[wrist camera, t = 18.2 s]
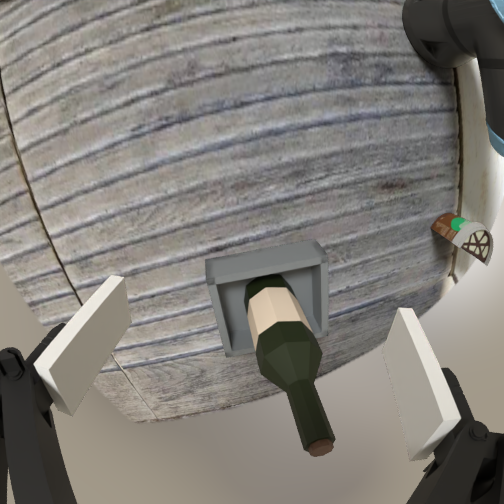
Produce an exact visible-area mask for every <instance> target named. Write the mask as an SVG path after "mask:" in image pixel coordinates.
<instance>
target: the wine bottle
mask: <svg viewBox="0 0 504 504" xmlns="http://www.w3.org/2000/svg"><path fill="white" fill-rule="evenodd" d="M244 304H245V309H246V313H247V317H248V322H249V326H250V331H251V335H252V339H253V344H254V348H255V352H256V356H257V361H258V365H259V369H260V373H261V375H263V376H264V377H266V378H267V379H268V380H270V381H271V382H272V383H274V384H275V385H277V386H278V387H279V388H281V389H282V390H284V391H285V392H286V393H287V396H288V399H289V402H290V406H291V409H292V412H293V416H294V419H295V422H296V426H297V429H298V432H299V435H300V438H301V442H302V445H303V448H304V450H305V451H308V452H309V453H310V455H311V456H314V457H317V456H323V455H325V454H327V453H329V452H331V451H332V449H333V448H334V446H333V443H334V441H335V436H334V434H333V431H332V429H331V426H330V424H329V421H328V419H327V416H326V413H325V411H324V408H323V406H322V403H321V400H320V398H319V396H318V393H317V390H316V388H315V385H314V381H315V378H316V374H317V371H318V368H319V364H320V361H321V357H322V354H323V353H322V351H321V349H320V347H319V344H318V342H317V340H316V338H315V336H314V334H313V332H312V330H311V327H310V325H309V323H308V321H307V319H306V317H305V315H304V313H303V310H302V308H301V306H300V304H299V302H298V300H297V298H296V296H295V294H294V292H293V289H292V287H291V286H290V285H289V283H288V282H287V281H286V280H285V279H284V278H283V277H282V276H281V275H280V274H268V275H263V276H258V277H256V278H255V279H254V280H252V281H251V282H250V283H248V284H247V285H246V288H245V296H244Z"/></svg>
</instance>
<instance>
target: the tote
mask: <svg viewBox="0 0 504 504" xmlns="http://www.w3.org/2000/svg"><path fill="white" fill-rule="evenodd" d="M205 266H206V281H207V285H208V289H209V293H210V297H211V301H212V305H213V309H214V313H215V317H216V321H217V325H218V329H219V332H220V336H221V340H222V344H223V347H224V351H225V355H226V358H227V357H232V356H238V355H243V354H248V353H254V352H255V348H254V344H253V339H252V335H251V331H250V326H249V322H248V317H247V313H246V309H245V304H244V296H245V288H246V285H247V284H248V283H250V282H251V281H252V280H254V279H255V278H256V277H258V276H263V275H268V274H280V275H281V276H282V277H283V278H284V279H285V280H286V281H287V282H288V283H289V285H290V286H291V287H292V289H293V292H294V294H295V296H296V298H297V300H298V302H299V304H300V306H301V308H302V310H303V313H304V315H305V317H306V319H307V321H308V323H309V325H310V327H311V330H312V332H313V334H314V336H315V338H320V337H324V336H328V299H329V293H328V255H327V253H326V252H325V251H324V250H323V248H322V247H321V246H320V244H319V243H318V242H317V241H316V239H312V240H307V241H302V242H296V243H291V244H286V245H280V246H275V247H270V248H264V249H259V250H254V251H248V252H243V253H238V254H232V255H227V256H222V257H216V258H211V259H206V260H205Z"/></svg>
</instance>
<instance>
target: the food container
mask: <svg viewBox="0 0 504 504" xmlns="http://www.w3.org/2000/svg"><path fill="white" fill-rule="evenodd" d="M431 228H432V229H433V230H435V231H436V232H437V233H439V234H440V235H442V236H443V237H445V238H446V239H448V240H449V241H451V242H452V243H453V244H455V245H456V246H458V247H459V248H462V249H464V250H465V251H467V252H469V253H470V254H472V255H473V256H474V257H476V258H477V259H479V260H480V261H481V262H483V263H484V264H485V265H488V263H489V261H490V259H491V255H492V251H493V239H492V235H491V234H490V232H489V230H488V229H487V228H486V227H485V226H484V225H483V224H482V223H480V222H470V221H468V220H466V219H463V218H461V217H459V216H457V215H455V214H452V213H445V214H443V215H441V216H440V217H438V218H437V219H436V220H435V222H434V223H433V224H432V226H431Z"/></svg>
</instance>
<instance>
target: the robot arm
mask: <svg viewBox="0 0 504 504" xmlns="http://www.w3.org/2000/svg"><path fill="white" fill-rule="evenodd" d="M402 17H403V24H404V28H405V31H406V34H407V36H408V38H409V40H410V42H411V44H412V45H413V47H414V48H415V49H416V51H417V52H418V53H419V54H420V55H421V56H422V57H423V58H424V59H425V60H426V61H428V62H429V63H431V64H432V65H434V66H437V67H441V68H455V67H459V66H461V65H463V64H465V63H467V62H468V61H470V60H472V59H474V58H477V60H478V65H479V70H480V76H481V82H482V88H483V95H484V103H485V112H486V124H487V127H488V133H489V140H490V143H491V145H492V147H493V148H494V149H495V150H496V151H497V152H498V153H499V154H500V155H501V156H503V157H504V0H406V1H405V3H404V6H403V13H402ZM131 323H132V321H131V315H130V310H129V304H128V298H127V292H126V285H125V278H124V277H119V276H113V275H111V276H110V277H109V278H108V279H107V280H106V281H105V282H104V283H103V284H102V286H101V287H100V288H99V289H98V290H97V291H96V292H95V293H94V294H93V295H92V296H91V297H90V299H89V300H88V301H87V302H86V303H85V304H84V305H83V306H82V307H81V308H80V310H79V311H78V312H77V313H76V314H75V315H74V316H73V318H72V319H71V320H70V321H69V322H68V323H67V324H65V323H61V324H59V325H58V326H56V327H54V328H53V329H52V330H51V331H50V332H49V333H48V334H47V336H46V337H45V338H44V339H43V340H42V342H41V343H40V344H39V345H38V346H37V347H36V348H35V350H34V351H33V352H32V353H31V354H30V356H29V357H28V358H27V359H26V360H25V361H24V359H23V356H22V354H21V352H20V351H19V350H18V349H16V348H13V347H11V348H6V349H3V350H1V351H0V504H7V476H8V475H7V474H8V468H9V474H10V480H11V485H12V490H13V495H14V499H15V504H77V502H76V499H75V496H74V493H73V490H72V487H71V484H70V481H69V478H68V475H67V471H66V468H65V465H64V461H63V457H62V454H61V450H60V446H59V443H58V438H57V434H56V430H55V425H54V420H53V415H52V411H51V409H50V406H51V404H52V403H53V402H54V404H55V406H56V407H57V409H58V411H61V412H63V413H66V414H68V415H70V416H73V415H74V413H75V411H76V410H77V408H78V406H79V405H80V403H81V401H82V400H83V398H84V396H85V395H86V393H87V391H88V390H89V388H90V387H91V385H92V383H93V382H94V380H95V378H96V377H97V375H98V374H99V372H100V370H101V369H102V367H103V366H104V364H105V363H106V361H107V359H108V358H109V356H110V355H111V353H112V352H113V350H114V348H115V347H116V345H117V344H118V342H119V341H120V339H121V338H122V336H123V335H124V333H125V332H126V330H127V329H128V327H129V326H130V324H131ZM382 353H383V357H384V360H385V364H386V367H387V370H388V374H389V377H390V381H391V385H392V389H393V392H394V396H395V400H396V404H397V408H398V411H399V415H400V419H401V424H402V428H403V433H404V437H405V441H406V446H407V450H408V455H409V460H410V461H415V460H422V459H427V457H428V456H429V455H430V454H431V453H432V452H434V455H435V459H434V460H433V461H432V462H431V463H430V464H429V465H428V466H427V467H426V468H425V469H424V470H423V472H426V473H425V475H424V477H423V478H422V480H421V482H420V483H419V485H418V486H417V488H416V490H415V491H414V493H413V494H412V496H411V497H410V499H409V500H408V502H407V503H406V504H504V434H501V433H493V432H489V430H488V429H487V427H486V426H485V425H484V424H483V423H481V422H479V421H475V420H474V417H473V415H472V413H471V410H470V408H469V405H468V403H467V400H466V398H465V396H464V394H463V391H462V389H461V387H460V385H459V382H458V380H457V378H456V376H455V375H454V374H453V372H452V371H451V370H450V369H449V368H440V366H439V363H438V361H437V359H436V357H435V354H434V352H433V350H432V348H431V346H430V344H429V342H428V339H427V338H426V335H425V333H424V331H423V329H422V327H421V325H420V323H419V321H418V319H417V317H416V315H415V313H414V311H413V309H412V308H398V310H397V313H396V316H395V318H394V321H393V324H392V326H391V329H390V332H389V334H388V337H387V340H386V342H385V345H384V347H383V350H382Z"/></svg>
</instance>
